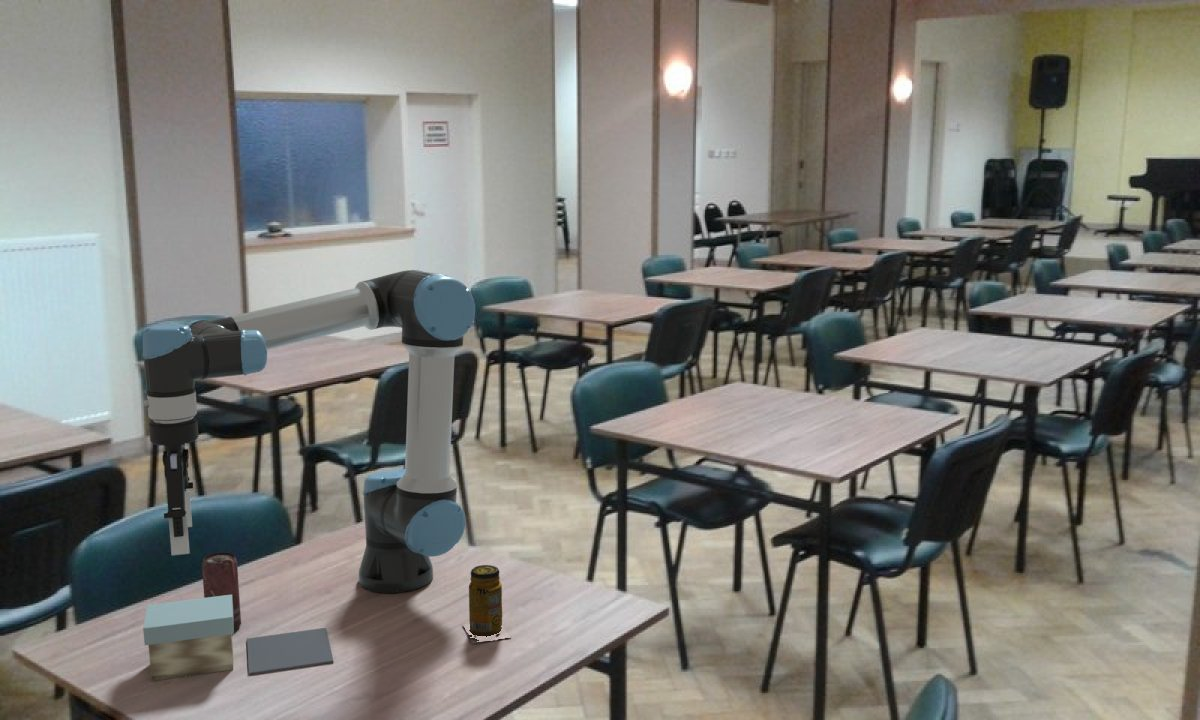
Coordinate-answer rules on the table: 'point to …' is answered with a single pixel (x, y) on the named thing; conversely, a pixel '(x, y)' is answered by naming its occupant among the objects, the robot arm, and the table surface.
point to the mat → (288, 651)
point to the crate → (191, 657)
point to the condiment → (485, 601)
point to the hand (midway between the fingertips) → (182, 540)
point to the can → (222, 580)
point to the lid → (188, 619)
